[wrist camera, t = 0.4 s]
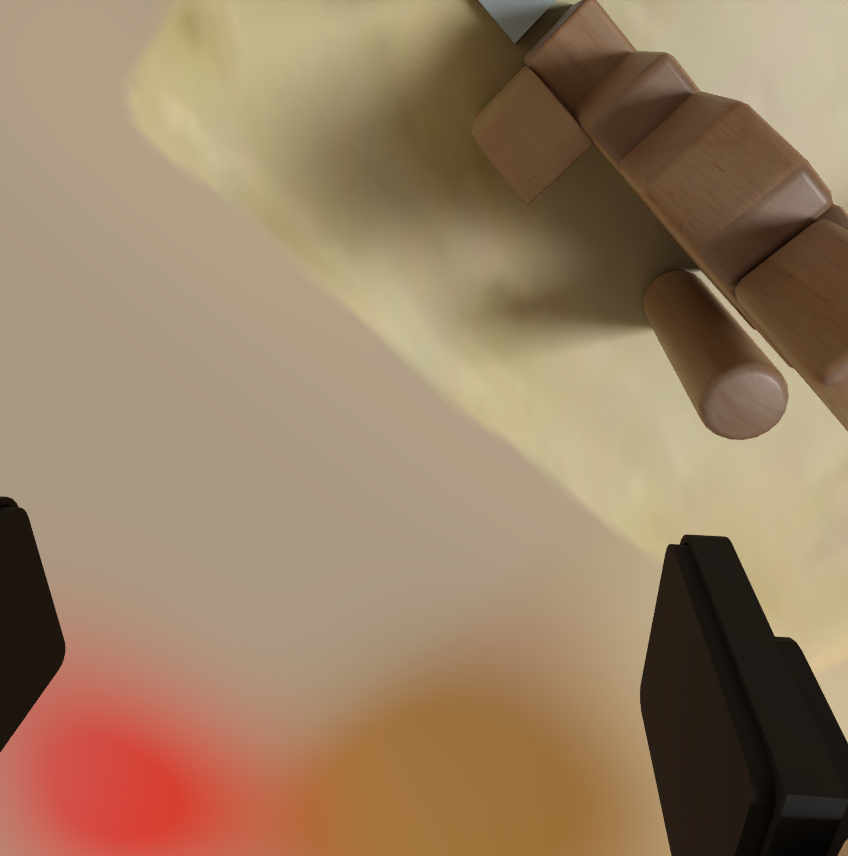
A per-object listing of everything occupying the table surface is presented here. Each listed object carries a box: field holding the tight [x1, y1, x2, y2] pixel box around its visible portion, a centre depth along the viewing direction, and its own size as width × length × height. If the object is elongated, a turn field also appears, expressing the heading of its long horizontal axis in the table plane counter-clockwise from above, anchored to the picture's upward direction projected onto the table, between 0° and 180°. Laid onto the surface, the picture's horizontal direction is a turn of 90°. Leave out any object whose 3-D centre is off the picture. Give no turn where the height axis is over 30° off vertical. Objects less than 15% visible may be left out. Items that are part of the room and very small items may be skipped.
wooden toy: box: [471, 0, 848, 440], centre depth 25 cm, size 16×7×25 cm, turn 45°
